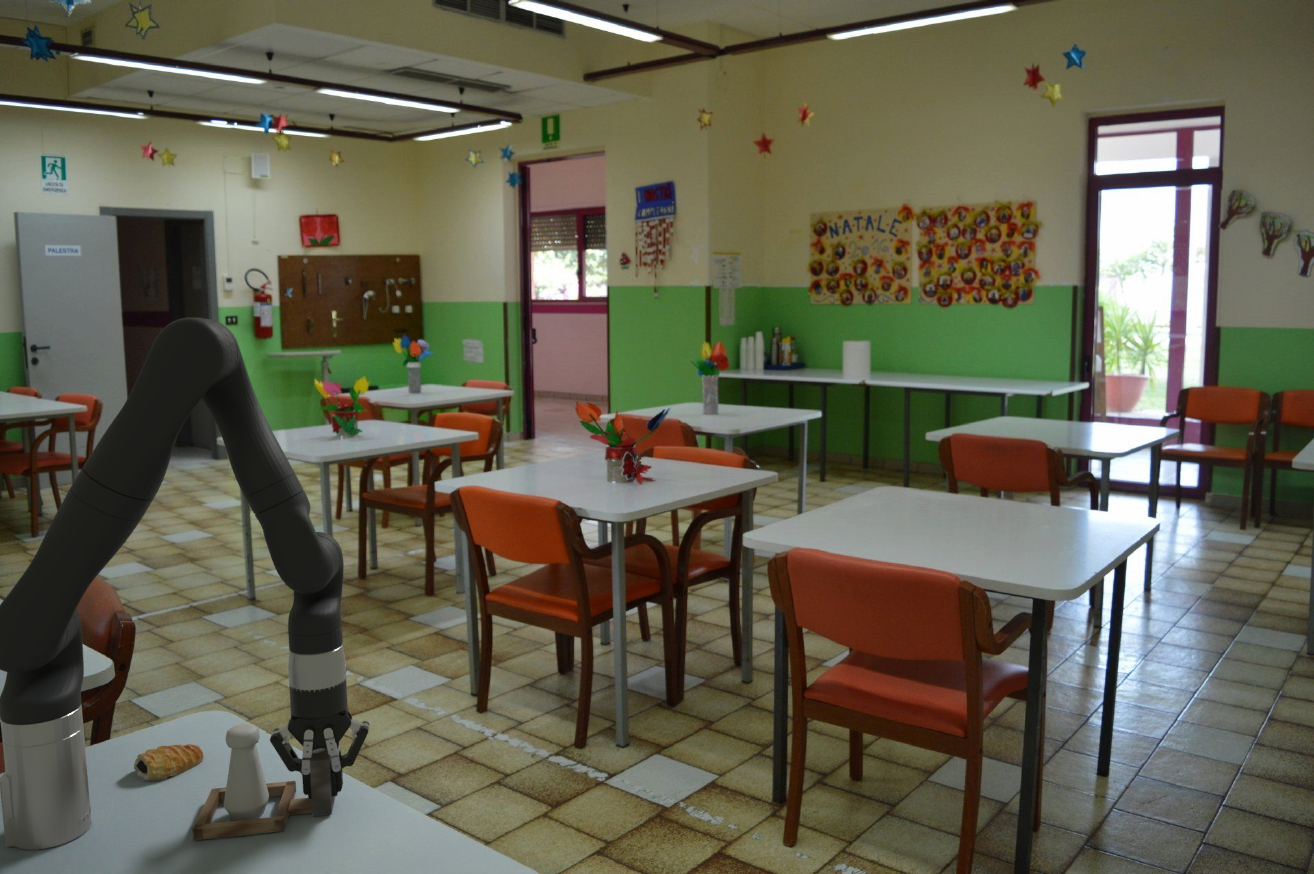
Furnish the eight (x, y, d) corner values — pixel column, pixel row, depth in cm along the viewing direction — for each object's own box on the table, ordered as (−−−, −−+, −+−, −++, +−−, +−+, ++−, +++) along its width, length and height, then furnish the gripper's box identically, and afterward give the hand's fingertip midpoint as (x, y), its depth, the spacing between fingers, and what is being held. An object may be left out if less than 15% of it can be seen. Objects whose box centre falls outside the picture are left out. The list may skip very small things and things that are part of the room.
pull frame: (193, 840, 133) (189, 783, 131) (212, 798, 144) (209, 745, 142) (328, 825, 136) (326, 770, 135) (337, 786, 147) (335, 734, 146)
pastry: (191, 752, 159) (190, 729, 159) (212, 765, 155) (211, 741, 155) (130, 773, 152) (128, 750, 152) (150, 787, 148) (149, 763, 148)
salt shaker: (253, 829, 136) (248, 738, 134) (215, 824, 137) (209, 734, 135) (278, 807, 142) (272, 720, 140) (241, 803, 143) (236, 717, 141)
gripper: (259, 692, 134) (266, 813, 136) (367, 683, 136) (373, 802, 139) (269, 671, 141) (275, 787, 143) (371, 664, 144) (376, 777, 146)
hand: (323, 794), depth 141 cm, fingers closed on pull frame, 2 cm apart
